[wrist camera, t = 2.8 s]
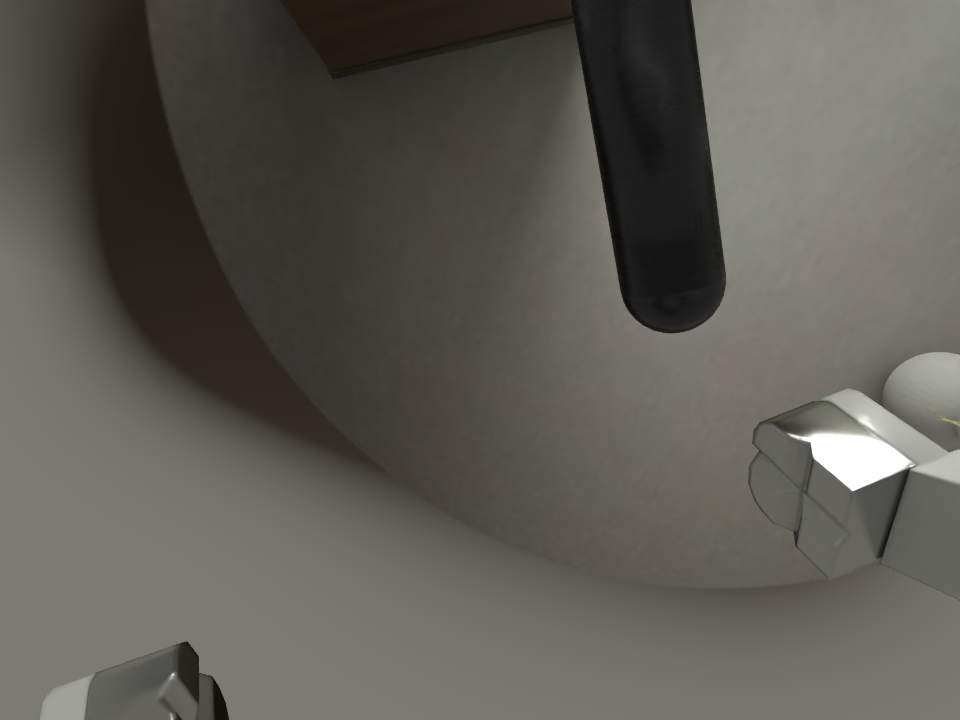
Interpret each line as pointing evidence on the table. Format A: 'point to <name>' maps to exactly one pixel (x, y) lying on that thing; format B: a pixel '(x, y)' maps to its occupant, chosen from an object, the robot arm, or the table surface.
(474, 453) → the table surface
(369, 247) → the table surface
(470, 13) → the cabinet
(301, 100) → the table surface
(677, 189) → the door
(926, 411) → the ornament
